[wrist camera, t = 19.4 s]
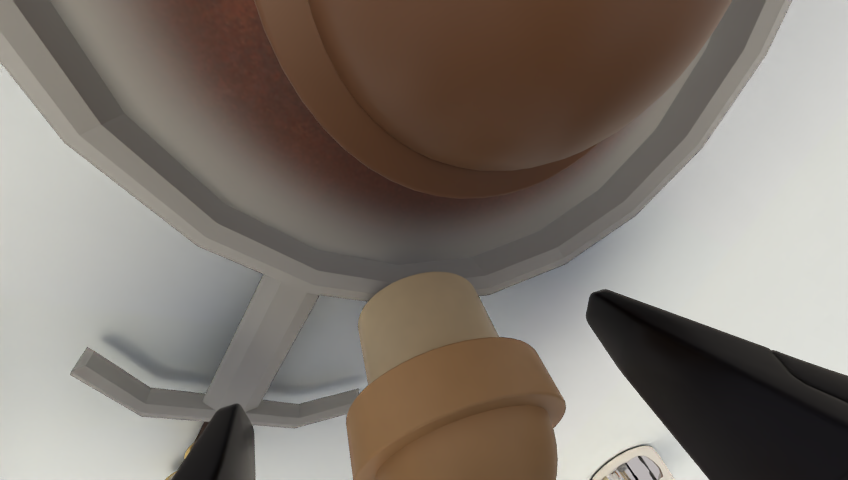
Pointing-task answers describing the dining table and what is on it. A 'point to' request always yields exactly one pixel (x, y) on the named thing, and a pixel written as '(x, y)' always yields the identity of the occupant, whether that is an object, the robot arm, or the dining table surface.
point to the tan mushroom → (448, 390)
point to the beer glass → (635, 466)
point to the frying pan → (318, 174)
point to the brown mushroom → (481, 80)
